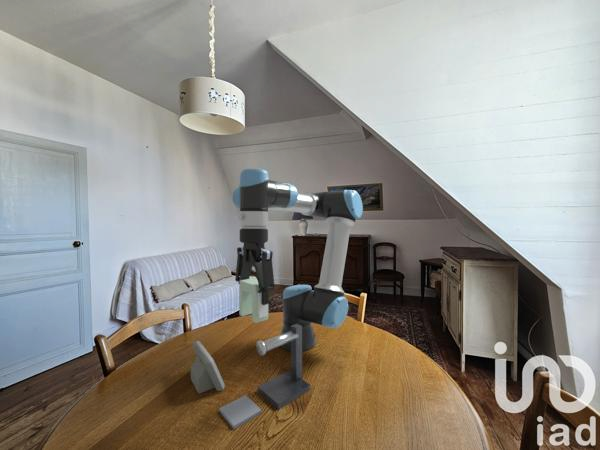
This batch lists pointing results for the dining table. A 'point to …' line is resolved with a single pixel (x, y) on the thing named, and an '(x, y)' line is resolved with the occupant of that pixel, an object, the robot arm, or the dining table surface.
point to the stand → (287, 383)
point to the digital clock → (205, 371)
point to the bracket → (249, 299)
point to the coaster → (239, 411)
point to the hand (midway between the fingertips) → (253, 312)
